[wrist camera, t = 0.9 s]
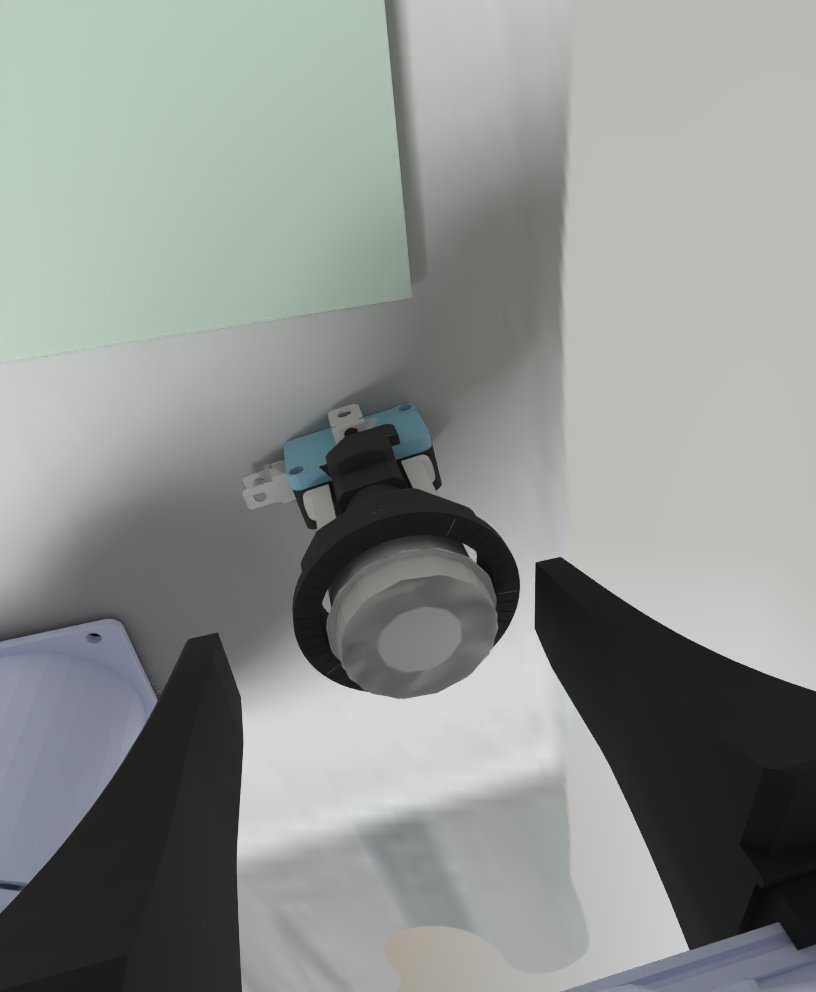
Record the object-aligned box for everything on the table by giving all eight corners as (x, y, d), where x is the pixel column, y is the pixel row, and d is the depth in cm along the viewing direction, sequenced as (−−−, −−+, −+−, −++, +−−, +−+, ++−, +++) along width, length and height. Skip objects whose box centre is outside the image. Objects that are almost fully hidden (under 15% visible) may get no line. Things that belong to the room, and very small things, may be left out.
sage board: (2, 353, 18) (-10, 365, 17) (-280, -261, 12) (-320, -290, 11) (405, 290, 20) (412, 297, 19) (348, -282, 13) (354, -310, 13)
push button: (271, 536, 23) (284, 771, 15) (214, 409, 20) (191, 612, 12) (441, 482, 24) (547, 680, 15) (409, 349, 21) (520, 504, 12)
